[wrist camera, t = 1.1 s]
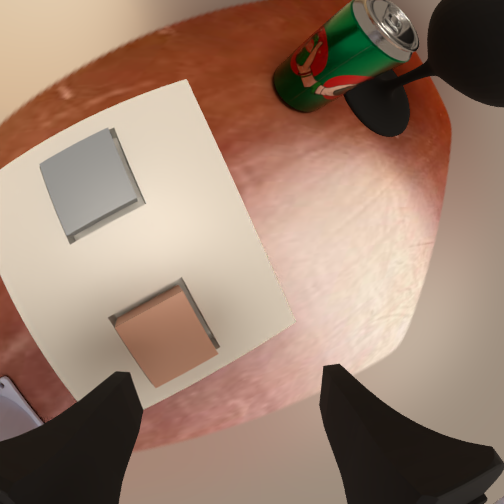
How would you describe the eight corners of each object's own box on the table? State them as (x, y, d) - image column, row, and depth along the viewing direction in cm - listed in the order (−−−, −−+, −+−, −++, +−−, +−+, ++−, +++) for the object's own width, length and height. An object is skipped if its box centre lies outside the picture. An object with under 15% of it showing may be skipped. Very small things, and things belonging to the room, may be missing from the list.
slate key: (74, 235, 15) (66, 235, 13) (49, 170, 14) (39, 163, 12) (137, 201, 17) (137, 197, 15) (110, 138, 16) (107, 127, 14)
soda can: (330, 90, 24) (428, 36, 13) (306, 125, 23) (415, 71, 12) (288, 55, 22) (374, -19, 11) (259, 87, 21) (350, 3, 10)
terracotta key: (153, 373, 17) (155, 388, 16) (117, 317, 16) (114, 327, 15) (210, 342, 19) (218, 354, 17) (178, 284, 18) (182, 290, 16)
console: (103, 407, 18) (101, 429, 16) (-10, 196, 15) (-29, 191, 12) (277, 311, 23) (296, 321, 20) (179, 97, 19) (186, 79, 16)
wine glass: (343, 126, 25) (548, 58, 6) (332, 39, 24) (480, -53, 5) (412, 145, 28) (572, 117, 10) (399, 68, 28) (532, 18, 9)
